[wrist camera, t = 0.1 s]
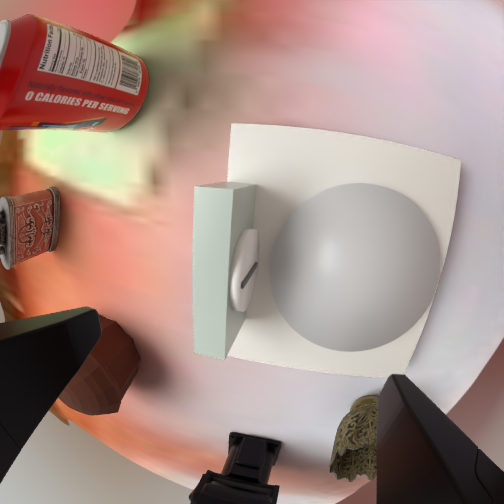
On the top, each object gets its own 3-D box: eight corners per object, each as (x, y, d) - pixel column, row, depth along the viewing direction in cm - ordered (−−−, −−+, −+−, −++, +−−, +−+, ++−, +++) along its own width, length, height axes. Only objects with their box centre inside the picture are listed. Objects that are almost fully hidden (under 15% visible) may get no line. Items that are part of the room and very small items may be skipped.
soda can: (169, 89, 19) (18, 38, 5) (111, 150, 22) (-35, 160, 8) (132, 42, 18) (11, -6, 4) (83, 99, 21) (-40, 89, 7)
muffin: (130, 305, 26) (66, 356, 17) (163, 386, 29) (121, 444, 20) (67, 305, 29) (13, 340, 20) (98, 374, 32) (57, 415, 23)
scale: (396, 362, 22) (412, 422, 14) (227, 338, 25) (196, 394, 17) (446, 160, 16) (502, 160, 9) (241, 128, 19) (200, 107, 12)
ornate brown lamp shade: (409, 378, 22) (427, 439, 14) (388, 423, 24) (395, 479, 16) (339, 378, 23) (339, 445, 16) (326, 424, 25) (322, 482, 18)
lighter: (47, 183, 25) (-21, 197, 16) (62, 191, 25) (-10, 207, 15) (43, 244, 28) (-17, 268, 18) (57, 254, 27) (-5, 283, 18)
